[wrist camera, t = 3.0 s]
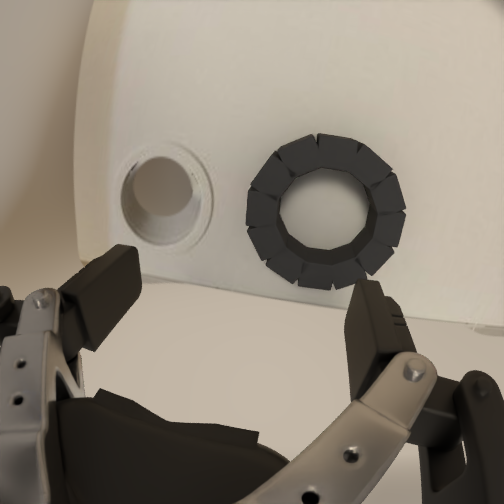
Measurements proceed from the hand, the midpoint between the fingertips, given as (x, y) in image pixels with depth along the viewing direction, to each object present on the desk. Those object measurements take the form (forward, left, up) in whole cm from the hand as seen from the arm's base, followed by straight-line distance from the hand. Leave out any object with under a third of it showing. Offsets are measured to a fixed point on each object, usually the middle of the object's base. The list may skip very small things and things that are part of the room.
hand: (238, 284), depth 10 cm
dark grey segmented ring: (+4, 0, -12) cm, 12 cm away
